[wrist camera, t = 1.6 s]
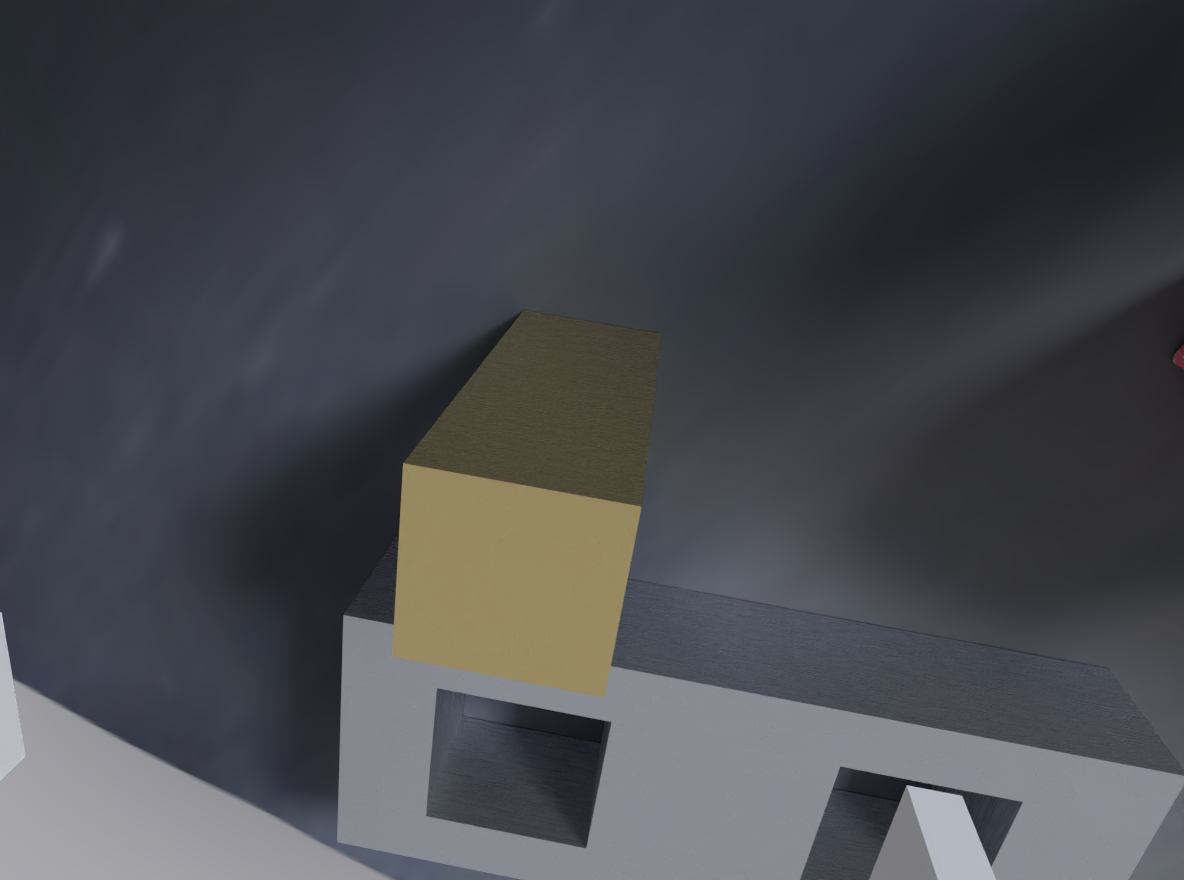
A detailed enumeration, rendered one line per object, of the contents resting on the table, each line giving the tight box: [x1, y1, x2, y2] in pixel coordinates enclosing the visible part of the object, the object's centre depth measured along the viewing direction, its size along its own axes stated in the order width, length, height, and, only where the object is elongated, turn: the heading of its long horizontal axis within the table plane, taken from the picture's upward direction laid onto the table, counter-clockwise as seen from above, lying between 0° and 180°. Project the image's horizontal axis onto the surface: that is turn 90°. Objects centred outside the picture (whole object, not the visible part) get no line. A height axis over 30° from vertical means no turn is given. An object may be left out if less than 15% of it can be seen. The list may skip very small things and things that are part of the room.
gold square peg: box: [392, 310, 662, 698], centre depth 21 cm, size 4×4×12 cm
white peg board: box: [337, 536, 1184, 880], centre depth 29 cm, size 10×26×5 cm, turn 82°
